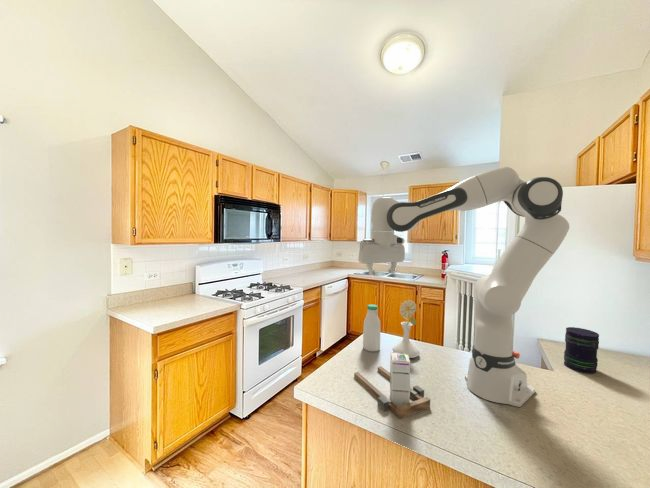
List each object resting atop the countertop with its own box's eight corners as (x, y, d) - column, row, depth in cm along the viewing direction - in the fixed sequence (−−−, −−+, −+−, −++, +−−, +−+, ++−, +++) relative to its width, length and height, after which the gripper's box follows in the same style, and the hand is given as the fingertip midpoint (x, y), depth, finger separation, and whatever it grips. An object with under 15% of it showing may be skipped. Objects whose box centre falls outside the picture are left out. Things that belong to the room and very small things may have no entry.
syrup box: (410, 408, 83) (411, 361, 82) (390, 405, 84) (391, 360, 83) (407, 396, 88) (408, 353, 87) (388, 394, 89) (390, 351, 88)
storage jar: (561, 366, 110) (563, 330, 109) (565, 359, 116) (567, 325, 116) (596, 377, 102) (598, 338, 102) (598, 368, 109) (600, 332, 108)
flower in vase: (388, 349, 123) (389, 295, 122) (411, 348, 125) (413, 294, 124) (401, 363, 110) (403, 303, 109) (426, 361, 112) (428, 302, 111)
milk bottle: (380, 352, 120) (381, 308, 119) (362, 351, 121) (363, 307, 120) (379, 345, 127) (380, 303, 126) (363, 344, 129) (364, 302, 128)
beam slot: (385, 368, 106) (385, 362, 106) (434, 405, 84) (435, 398, 84) (349, 377, 99) (349, 371, 99) (393, 420, 77) (393, 412, 77)
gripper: (364, 239, 99) (364, 276, 100) (407, 239, 108) (406, 273, 109) (355, 239, 105) (355, 274, 105) (397, 238, 114) (396, 271, 114)
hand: (381, 274), depth 107 cm, fingers open, 8 cm apart
